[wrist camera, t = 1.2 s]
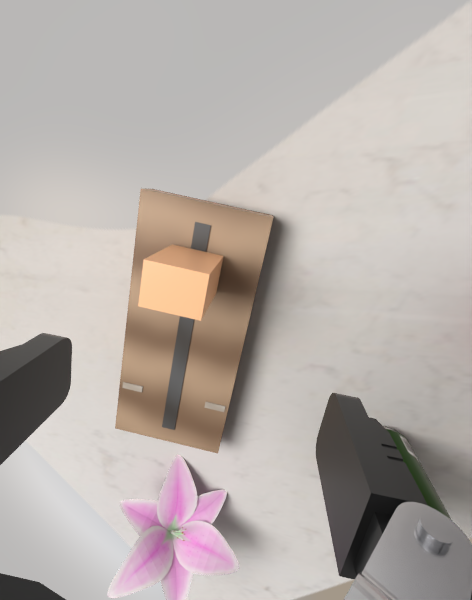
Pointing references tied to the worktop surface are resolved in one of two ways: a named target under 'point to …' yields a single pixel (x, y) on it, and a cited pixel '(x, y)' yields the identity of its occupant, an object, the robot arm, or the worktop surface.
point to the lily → (174, 538)
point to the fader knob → (180, 281)
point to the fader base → (189, 322)
